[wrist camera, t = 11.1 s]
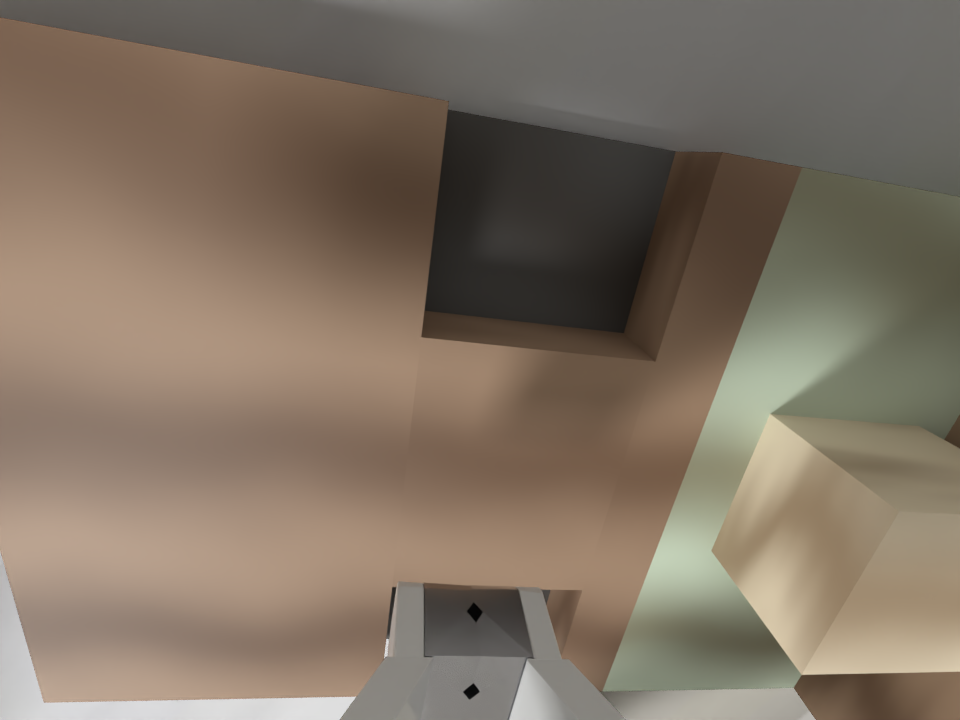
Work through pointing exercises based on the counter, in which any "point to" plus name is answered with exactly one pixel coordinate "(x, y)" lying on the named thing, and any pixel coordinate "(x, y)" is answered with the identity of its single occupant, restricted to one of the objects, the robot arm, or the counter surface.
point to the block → (850, 545)
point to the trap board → (416, 375)
